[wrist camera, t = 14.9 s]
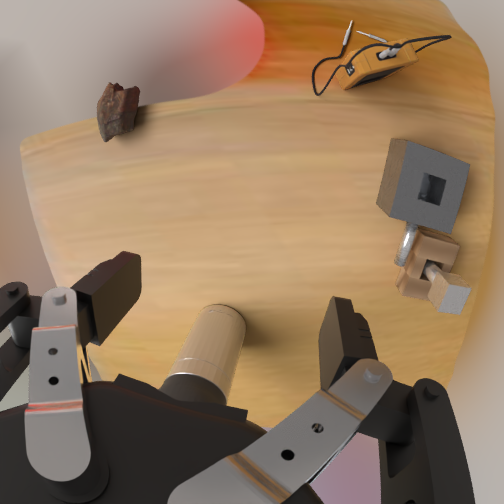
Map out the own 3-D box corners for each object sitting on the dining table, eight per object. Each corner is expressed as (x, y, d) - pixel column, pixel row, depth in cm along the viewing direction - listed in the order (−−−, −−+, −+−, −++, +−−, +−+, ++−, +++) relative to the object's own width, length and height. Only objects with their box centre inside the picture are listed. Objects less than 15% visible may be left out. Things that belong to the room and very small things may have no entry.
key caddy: (428, 290, 46) (437, 302, 42) (395, 283, 46) (402, 295, 42) (449, 237, 42) (460, 246, 38) (415, 227, 42) (424, 236, 38)
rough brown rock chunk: (98, 76, 35) (90, 140, 37) (141, 76, 37) (134, 139, 39) (104, 87, 40) (97, 144, 42) (142, 86, 42) (136, 143, 44)
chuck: (418, 259, 44) (433, 279, 38) (363, 246, 45) (373, 266, 38) (447, 158, 37) (470, 164, 31) (391, 138, 38) (407, 140, 31)
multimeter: (378, 14, 30) (426, -47, 12) (407, 73, 33) (478, 43, 15) (288, 39, 34) (280, -25, 16) (317, 99, 37) (335, 73, 19)
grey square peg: (437, 252, 42) (471, 288, 31) (429, 274, 44) (459, 314, 33) (417, 248, 42) (449, 284, 31) (409, 271, 44) (437, 311, 33)
